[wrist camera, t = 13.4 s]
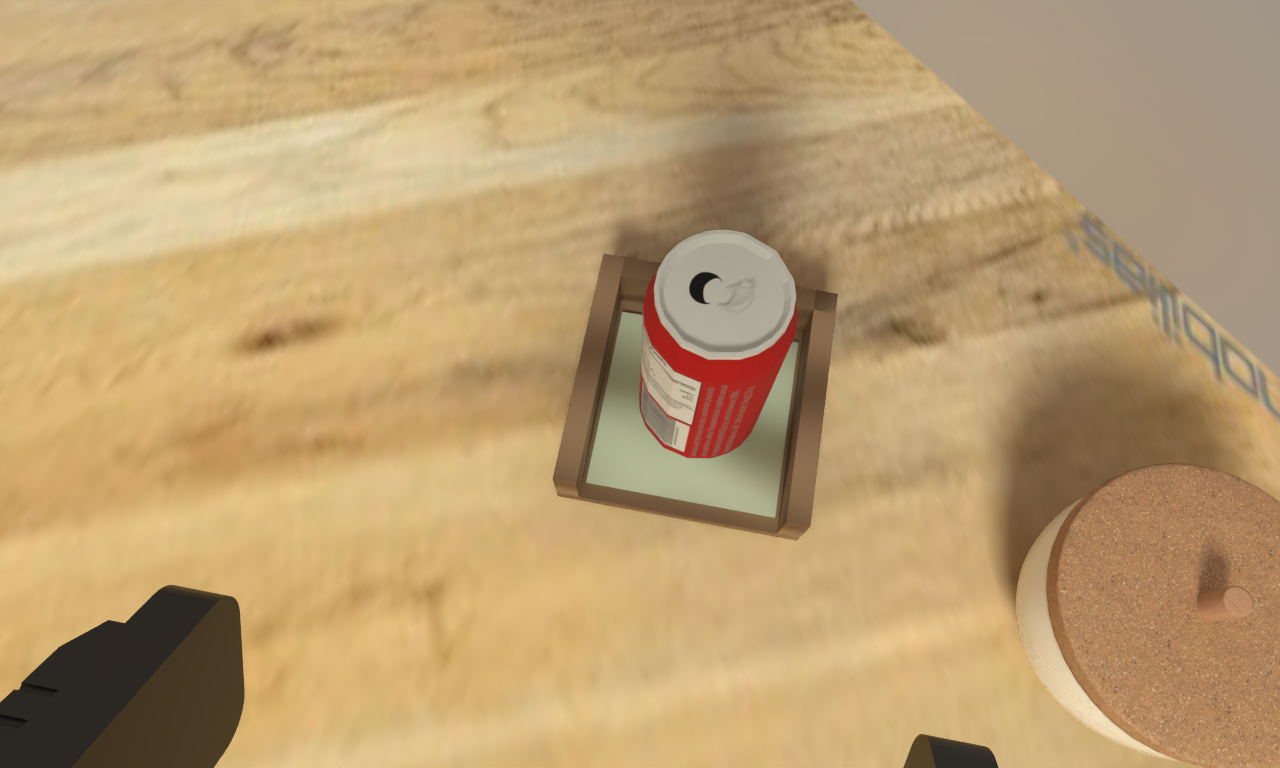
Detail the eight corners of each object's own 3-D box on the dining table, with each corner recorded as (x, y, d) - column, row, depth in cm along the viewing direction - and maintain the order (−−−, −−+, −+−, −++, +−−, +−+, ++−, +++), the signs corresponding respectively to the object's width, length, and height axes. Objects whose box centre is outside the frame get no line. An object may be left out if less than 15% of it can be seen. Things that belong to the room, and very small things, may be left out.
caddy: (796, 540, 40) (810, 526, 37) (557, 496, 41) (552, 478, 38) (823, 322, 44) (837, 294, 41) (605, 284, 44) (603, 253, 41)
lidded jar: (1108, 817, 36) (1263, 849, 27) (926, 603, 39) (1014, 569, 30) (1274, 652, 39) (1466, 633, 30) (1092, 462, 42) (1217, 393, 33)
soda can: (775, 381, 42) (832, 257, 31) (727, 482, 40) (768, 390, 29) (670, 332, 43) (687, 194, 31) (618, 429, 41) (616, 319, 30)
